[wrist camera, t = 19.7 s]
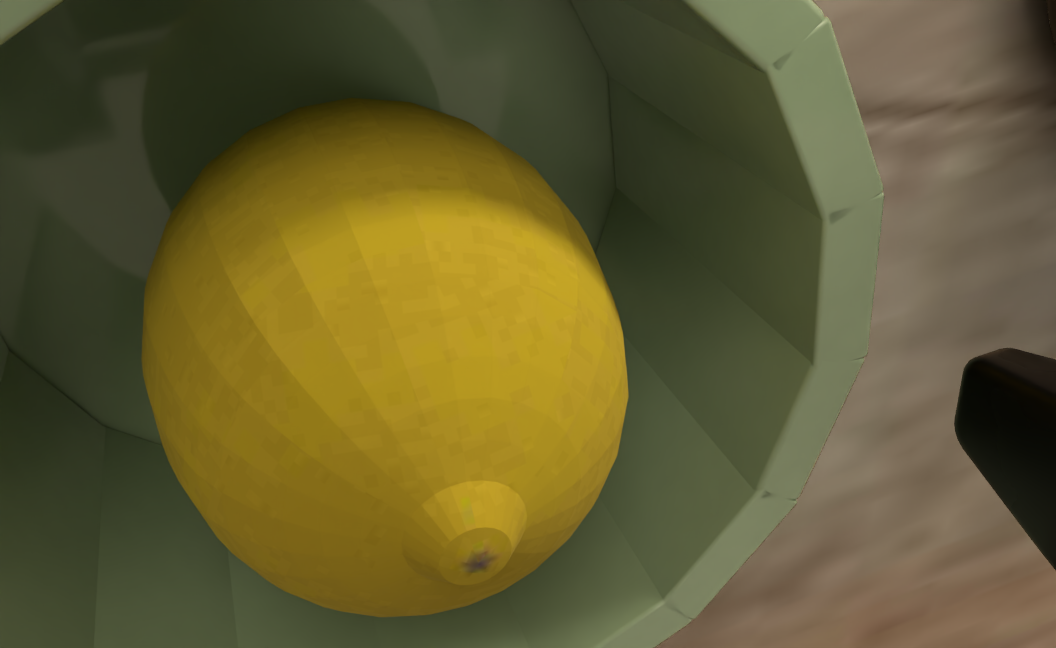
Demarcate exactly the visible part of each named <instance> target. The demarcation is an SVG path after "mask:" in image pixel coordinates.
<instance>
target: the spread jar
mask: <svg viewBox="0 0 1056 648" xmlns="http://www.w3.org/2000/svg"><path fill="white" fill-rule="evenodd" d="M1047 10H1048V18H1049V23H1050V28H1051V33H1052V36H1053V39H1054V42H1055V45H1056V0H1047Z"/></svg>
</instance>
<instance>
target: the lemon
mask: <svg viewBox="0 0 1056 648" xmlns="http://www.w3.org/2000/svg"><path fill="white" fill-rule="evenodd" d="M141 359H142V369H143V377H144V381H145V385H146V389H147V393H148V396H149V400H150V403H151V407H152V410H153V414H154V417H155V421H156V424H157V428H158V431H159V435H160V439H161V442H162V445H163V448H164V450H165V453H166V456H167V458H168V461H169V463H170V465H171V467H172V469H173V471H174V473H175V475H176V477H177V479H178V481H179V482H180V484H181V485H182V487H183V488H184V490H185V491H186V493H187V494H188V496H189V498H190V499H191V500H192V502H193V503H194V505H195V506H196V508H197V509H198V511H199V512H200V513H201V515H202V516H203V518H204V519H205V521H206V522H207V524H208V525H209V526H210V528H211V529H212V531H213V532H214V534H215V535H216V537H217V538H218V539H219V540H220V541H221V542H222V543H223V544H224V545H225V546H226V547H227V548H228V549H229V550H230V552H231V553H232V554H234V555H235V556H236V557H238V558H239V559H240V560H241V561H243V562H244V563H245V564H247V565H248V566H249V567H250V568H252V569H253V570H254V571H256V572H257V573H258V574H259V575H261V576H262V577H263V578H265V579H266V580H267V581H269V582H270V583H272V584H274V585H275V586H277V587H278V588H280V589H282V590H283V591H285V592H288V593H290V594H293V595H295V596H297V597H300V598H302V599H305V600H307V601H310V602H312V603H315V604H317V605H320V606H322V607H325V608H329V609H333V610H337V611H342V612H348V613H355V614H362V615H369V616H375V617H398V616H418V615H430V614H435V613H439V612H443V611H448V610H452V609H456V608H460V607H464V606H468V605H471V604H473V603H475V602H478V601H480V600H482V599H485V598H487V597H489V596H492V595H494V594H496V593H499V592H501V591H503V590H505V589H506V588H508V587H509V586H511V585H513V584H514V583H516V582H517V581H519V580H520V579H522V578H524V577H525V576H527V575H528V574H530V573H531V572H533V571H534V570H536V569H537V568H538V567H539V566H540V565H541V564H542V563H543V562H544V561H545V560H546V559H548V558H549V557H550V556H551V555H552V554H553V553H554V552H555V551H556V550H557V549H559V548H560V547H561V546H562V545H563V544H564V543H565V542H566V541H567V540H568V539H569V538H570V537H571V536H572V534H573V533H574V531H575V530H576V529H577V527H578V526H579V525H580V523H581V522H582V521H583V519H584V518H585V517H586V515H587V514H588V513H589V511H590V510H591V509H592V507H593V506H594V504H595V502H596V500H597V498H598V496H599V494H600V492H601V490H602V488H603V486H604V483H605V481H606V479H607V477H608V475H609V472H610V470H611V468H612V466H613V464H614V462H615V459H616V457H617V454H618V449H619V444H620V438H621V433H622V428H623V423H624V417H625V412H626V407H627V401H628V380H627V368H626V358H625V348H624V338H623V331H622V327H621V322H620V318H619V314H618V311H617V308H616V305H615V302H614V299H613V296H612V294H611V291H610V289H609V286H608V284H607V282H606V279H605V277H604V275H603V272H602V270H601V267H600V265H599V263H598V260H597V258H596V255H595V253H594V251H593V249H592V246H591V244H590V242H589V240H588V238H587V235H586V234H585V232H584V230H583V229H582V227H581V225H580V224H579V222H578V220H577V219H576V218H575V217H574V215H573V214H572V213H571V212H570V210H569V209H568V208H567V207H566V205H565V204H564V203H563V202H562V200H561V199H560V198H559V197H558V196H557V194H556V193H555V192H554V191H553V190H552V188H551V187H550V186H549V185H548V183H547V182H546V181H545V180H544V179H543V177H542V176H541V175H540V174H539V173H538V171H537V170H536V169H535V168H534V167H533V166H532V165H531V164H530V163H528V162H527V161H526V160H525V159H524V158H522V157H521V156H519V155H518V154H516V153H515V152H513V151H512V150H510V149H509V148H507V147H506V146H504V145H503V144H501V143H500V142H498V141H497V140H495V139H494V138H492V137H491V136H489V135H488V134H486V133H485V132H483V131H482V130H480V129H479V128H477V127H476V126H474V125H473V124H471V123H469V122H467V121H465V120H462V119H460V118H457V117H454V116H451V115H448V114H445V113H442V112H439V111H436V110H432V109H429V108H426V107H423V106H420V105H417V104H414V103H411V102H404V101H390V100H376V99H361V98H347V99H342V100H337V101H331V102H326V103H321V104H315V105H310V106H305V107H299V108H297V109H294V110H292V111H290V112H288V113H286V114H284V115H281V116H279V117H277V118H275V119H273V120H271V121H268V122H266V123H264V124H262V125H260V126H257V127H255V128H253V129H251V130H249V131H248V132H247V133H245V134H244V135H243V136H242V137H240V138H239V139H238V140H237V141H235V142H234V143H233V144H232V145H230V146H229V147H228V148H227V149H225V150H224V151H223V152H222V153H220V154H219V155H218V156H217V157H216V158H214V159H213V160H212V161H211V162H209V163H208V164H207V165H206V166H205V167H204V168H203V170H202V171H201V173H200V174H199V175H198V177H197V178H196V179H195V181H194V182H193V184H192V185H191V186H190V188H189V189H188V191H187V192H186V193H185V195H184V196H183V197H182V199H181V200H180V202H179V203H178V204H177V206H176V207H175V209H174V210H173V211H172V213H171V215H170V217H169V219H168V221H167V223H166V226H165V229H164V231H163V234H162V237H161V240H160V243H159V246H158V248H157V251H156V254H155V257H154V260H153V262H152V265H151V268H150V271H149V274H148V277H147V282H146V286H145V293H144V313H143V335H142V357H141Z"/></svg>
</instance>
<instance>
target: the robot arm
mask: <svg viewBox="0 0 1056 648" xmlns="http://www.w3.org/2000/svg"><path fill="white" fill-rule="evenodd" d="M954 426H955V432H956V436H957V439H958V441H959V443H960V445H961V446H962V448H963V450H964V451H965V452H966V454H967V455H968V456H969V457H970V459H971V460H972V461H973V463H974V464H975V465H976V467H977V468H978V469H979V471H980V472H981V473H982V475H983V476H984V477H985V479H986V480H987V481H988V483H989V484H990V485H991V487H992V488H993V489H994V491H995V492H996V493H997V495H998V496H999V497H1000V499H1001V500H1002V501H1003V502H1004V504H1005V505H1006V506H1007V508H1008V509H1009V510H1010V512H1011V513H1012V514H1013V516H1014V517H1015V518H1016V520H1017V521H1018V522H1019V524H1020V525H1021V526H1022V528H1023V529H1024V530H1025V532H1026V533H1027V534H1028V536H1029V537H1030V538H1031V540H1032V541H1033V542H1034V544H1035V545H1036V546H1037V547H1038V549H1039V550H1040V551H1041V553H1042V554H1043V555H1044V556H1045V558H1046V559H1047V560H1048V561H1049V563H1050V564H1051V565H1052V566H1053V568H1054V569H1055V570H1056V360H1055V359H1051V358H1047V357H1044V356H1040V355H1036V354H1033V353H1029V352H1025V351H1021V350H1018V349H1013V348H1003V349H998V350H995V351H992V352H989V353H987V354H984V355H981V356H978V357H975V358H973V359H971V360H970V361H969V362H968V363H967V364H966V366H965V368H964V371H963V375H962V381H961V386H960V392H959V397H958V403H957V409H956V414H955V421H954Z"/></svg>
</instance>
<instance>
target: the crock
mask: <svg viewBox="0 0 1056 648" xmlns="http://www.w3.org/2000/svg"><path fill="white" fill-rule="evenodd" d="M347 98H361V99H376V100H390V101H404V102H411V103H414V104H417V105H420V106H423V107H426V108H429V109H432V110H436V111H439V112H442V113H445V114H448V115H451V116H454V117H457V118H460V119H462V120H465V121H467V122H469V123H471V124H473V125H474V126H476V127H477V128H479V129H480V130H482V131H483V132H485V133H486V134H488V135H489V136H491V137H492V138H494V139H495V140H497V141H498V142H500V143H501V144H503V145H504V146H506V147H507V148H509V149H510V150H512V151H513V152H515V153H516V154H518V155H519V156H521V157H522V158H524V159H525V160H526V161H527V162H528V163H530V164H531V165H532V166H533V167H534V168H535V169H536V170H537V171H538V173H539V174H540V175H541V176H542V177H543V179H544V180H545V181H546V182H547V183H548V185H549V186H550V187H551V188H552V190H553V191H554V192H555V193H556V194H557V196H558V197H559V198H560V199H561V200H562V202H563V203H564V204H565V205H566V207H567V208H568V209H569V210H570V212H571V213H572V214H573V215H574V217H575V218H576V219H577V220H578V222H579V224H580V225H581V227H582V229H583V230H584V232H585V234H586V235H587V238H588V240H589V242H590V244H591V246H592V249H593V251H594V253H595V255H596V258H597V260H598V263H599V265H600V267H601V270H602V272H603V275H604V277H605V279H606V282H607V284H608V286H609V289H610V291H611V294H612V296H613V299H614V302H615V305H616V308H617V311H618V314H619V318H620V322H621V327H622V331H623V338H624V348H625V358H626V368H627V380H628V401H627V407H626V412H625V417H624V423H623V428H622V433H621V438H620V444H619V449H618V454H617V457H616V459H615V462H614V464H613V466H612V468H611V470H610V472H609V475H608V477H607V479H606V481H605V483H604V486H603V488H602V490H601V492H600V494H599V496H598V498H597V500H596V502H595V504H594V506H593V507H592V509H591V510H590V511H589V513H588V514H587V515H586V517H585V518H584V519H583V521H582V522H581V523H580V525H579V526H578V527H577V529H576V530H575V531H574V533H573V534H572V536H571V537H570V538H569V539H568V540H567V541H566V542H565V543H564V544H563V545H562V546H561V547H560V548H559V549H557V550H556V551H555V552H554V553H553V554H552V555H551V556H550V557H549V558H548V559H546V560H545V561H544V562H543V563H542V564H541V565H540V566H539V567H538V568H537V569H536V570H534V571H533V572H531V573H530V574H528V575H527V576H525V577H524V578H522V579H520V580H519V581H517V582H516V583H514V584H513V585H511V586H509V587H508V588H506V589H505V590H503V591H501V592H499V593H496V594H494V595H492V596H489V597H487V598H485V599H482V600H480V601H478V602H475V603H473V604H471V605H468V606H464V607H460V608H456V609H452V610H448V611H443V612H439V613H435V614H430V615H418V616H398V617H375V616H369V615H362V614H355V613H348V612H342V611H337V610H333V609H329V608H325V607H322V606H320V605H317V604H315V603H312V602H310V601H307V600H305V599H302V598H300V597H297V596H295V595H293V594H290V593H288V592H285V591H283V590H282V589H280V588H278V587H277V586H275V585H274V584H272V583H270V582H269V581H267V580H266V579H265V578H263V577H262V576H261V575H259V574H258V573H257V572H256V571H254V570H253V569H252V568H250V567H249V566H248V565H247V564H245V563H244V562H243V561H241V560H240V559H239V558H238V557H236V556H235V555H234V554H232V553H231V552H230V550H229V549H228V548H227V547H226V546H225V545H224V544H223V543H222V542H221V541H220V540H219V539H218V538H217V537H216V535H215V534H214V532H213V531H212V529H211V528H210V526H209V525H208V524H207V522H206V521H205V519H204V518H203V516H202V515H201V513H200V512H199V511H198V509H197V508H196V506H195V505H194V503H193V502H192V500H191V499H190V498H189V496H188V494H187V493H186V491H185V490H184V488H183V487H182V485H181V484H180V482H179V481H178V479H177V477H176V475H175V473H174V471H173V469H172V467H171V465H170V463H169V461H168V458H167V456H166V453H165V450H164V448H163V445H162V442H161V439H160V435H159V431H158V428H157V424H156V421H155V417H154V414H153V410H152V407H151V403H150V400H149V396H148V393H147V389H146V385H145V381H144V377H143V369H142V359H141V357H142V335H143V313H144V293H145V286H146V282H147V277H148V274H149V271H150V268H151V265H152V262H153V260H154V257H155V254H156V251H157V248H158V246H159V243H160V240H161V237H162V234H163V231H164V229H165V226H166V223H167V221H168V219H169V217H170V215H171V213H172V211H173V210H174V209H175V207H176V206H177V204H178V203H179V202H180V200H181V199H182V197H183V196H184V195H185V193H186V192H187V191H188V189H189V188H190V186H191V185H192V184H193V182H194V181H195V179H196V178H197V177H198V175H199V174H200V173H201V171H202V170H203V168H204V167H205V166H206V165H207V164H208V163H209V162H211V161H212V160H213V159H214V158H216V157H217V156H218V155H219V154H220V153H222V152H223V151H224V150H225V149H227V148H228V147H229V146H230V145H232V144H233V143H234V142H235V141H237V140H238V139H239V138H240V137H242V136H243V135H244V134H245V133H247V132H248V131H249V130H251V129H253V128H255V127H257V126H260V125H262V124H264V123H266V122H268V121H271V120H273V119H275V118H277V117H279V116H281V115H284V114H286V113H288V112H290V111H292V110H294V109H297V108H299V107H305V106H310V105H315V104H321V103H326V102H331V101H337V100H342V99H347ZM883 189H884V188H883V185H882V181H881V178H880V175H879V172H878V169H877V166H876V163H875V159H874V156H873V153H872V150H871V147H870V144H869V141H868V137H867V134H866V131H865V128H864V125H863V122H862V119H861V115H860V112H859V109H858V106H857V103H856V100H855V97H854V93H853V90H852V87H851V84H850V81H849V78H848V75H847V71H846V68H845V65H844V62H843V59H842V56H841V53H840V49H839V46H838V43H837V40H836V37H835V34H834V31H833V27H832V24H831V21H830V20H829V19H828V18H827V17H826V16H824V15H823V12H822V10H821V8H820V7H819V6H818V5H817V4H816V3H815V2H814V1H813V0H0V648H655V647H656V646H658V645H659V644H661V643H662V642H663V641H665V640H666V639H668V638H669V637H671V636H672V635H674V634H675V633H676V632H678V631H679V630H681V629H682V628H684V627H685V626H687V625H688V624H689V623H691V621H692V620H693V619H695V618H697V616H698V615H699V614H700V613H701V612H702V611H703V610H704V609H705V607H706V606H707V605H708V604H709V603H710V602H711V601H712V599H713V598H714V597H715V596H716V595H717V594H718V593H719V592H720V590H721V589H722V588H723V587H724V586H725V585H726V584H727V582H728V581H729V580H730V579H731V578H732V577H733V576H734V574H735V573H736V572H737V571H738V570H739V569H740V568H741V567H742V565H743V564H744V563H745V562H746V561H747V560H748V559H749V557H750V556H751V555H752V554H753V553H754V552H755V551H756V549H757V548H758V547H759V546H760V545H761V544H762V543H763V542H764V540H765V539H766V538H767V537H768V536H769V535H770V534H771V532H772V531H773V530H774V529H775V528H776V527H777V526H778V525H779V523H780V522H781V521H782V520H783V519H784V518H785V517H786V515H787V514H788V513H789V512H790V511H791V510H792V509H793V507H794V506H795V505H796V504H797V501H796V499H798V498H799V497H800V495H801V493H802V491H803V489H804V487H805V485H806V483H807V481H808V479H809V476H810V474H811V472H812V470H813V468H814V466H815V464H816V462H817V460H818V458H819V455H820V453H821V451H822V449H823V447H824V445H825V443H826V441H827V439H828V436H829V434H830V432H831V430H832V428H833V426H834V424H835V422H836V420H837V418H838V415H839V413H840V411H841V409H842V407H843V405H844V403H845V401H846V399H847V396H848V394H849V392H850V390H851V388H852V386H853V384H854V382H855V380H856V378H857V375H858V373H859V371H860V369H861V367H862V365H863V363H864V357H865V356H866V355H867V354H868V345H869V335H870V326H871V317H872V307H873V298H874V288H875V279H876V270H877V260H878V251H879V242H880V232H881V223H882V213H883V204H884V193H883V192H882V191H883Z"/></svg>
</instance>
